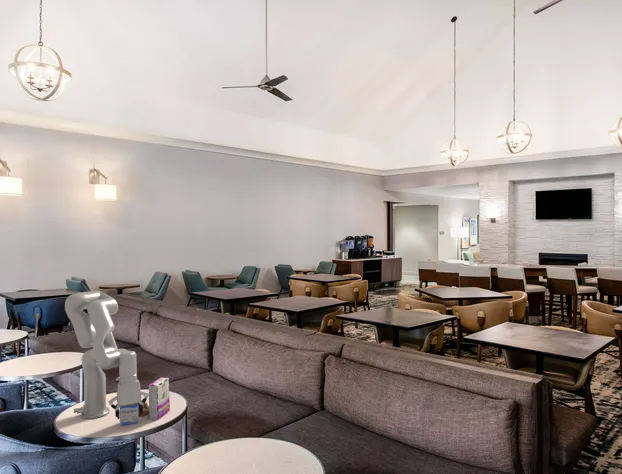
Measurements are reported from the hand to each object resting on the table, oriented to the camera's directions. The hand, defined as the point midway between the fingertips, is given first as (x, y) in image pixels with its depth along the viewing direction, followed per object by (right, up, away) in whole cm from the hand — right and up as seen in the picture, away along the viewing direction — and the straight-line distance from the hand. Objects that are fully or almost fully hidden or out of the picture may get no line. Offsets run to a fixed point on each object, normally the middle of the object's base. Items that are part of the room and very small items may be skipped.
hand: (129, 415), depth 209 cm
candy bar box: (+11, -4, +9) cm, 15 cm away
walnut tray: (-2, -3, +14) cm, 14 cm away
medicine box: (0, -4, +1) cm, 4 cm away
